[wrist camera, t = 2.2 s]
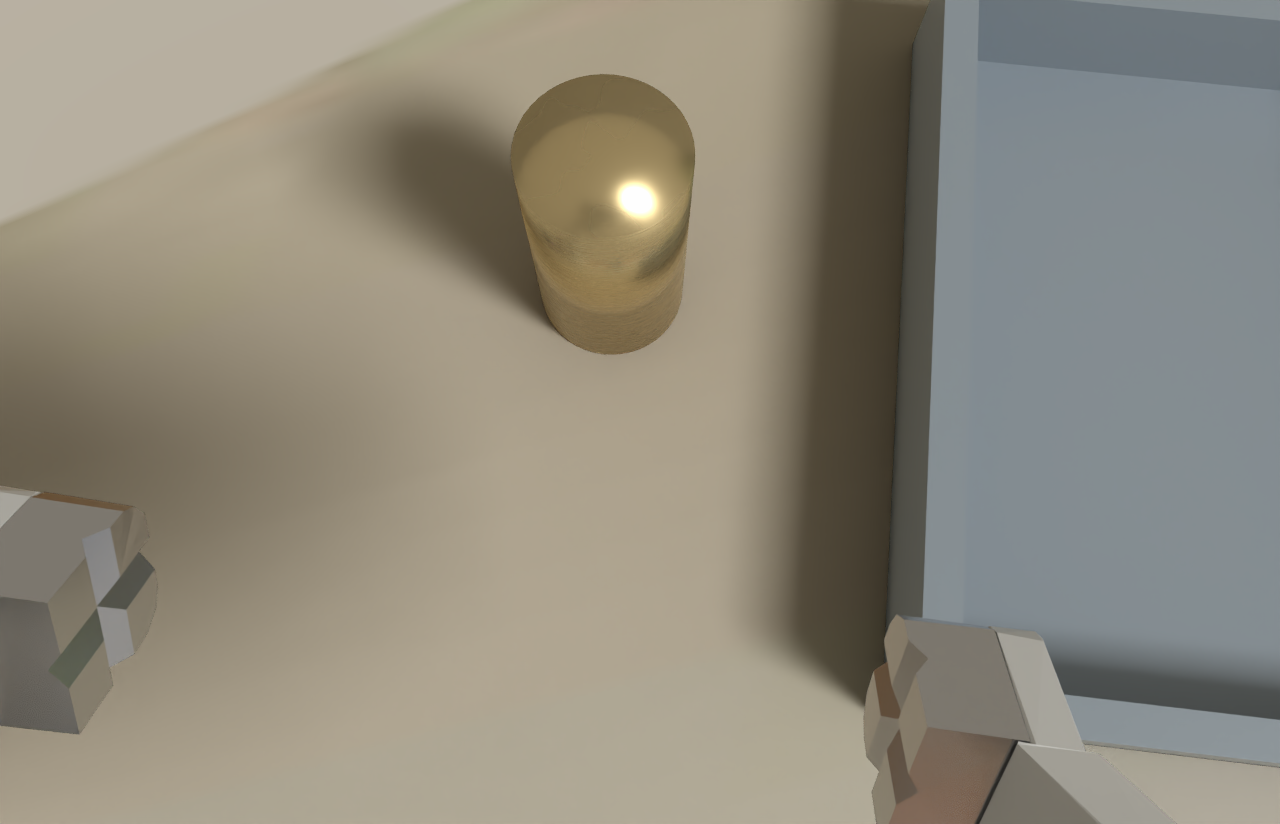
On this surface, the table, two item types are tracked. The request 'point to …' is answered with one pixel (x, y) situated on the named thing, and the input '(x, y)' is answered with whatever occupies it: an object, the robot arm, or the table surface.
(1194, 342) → the tray
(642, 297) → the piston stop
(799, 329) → the table surface
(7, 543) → the robot arm
